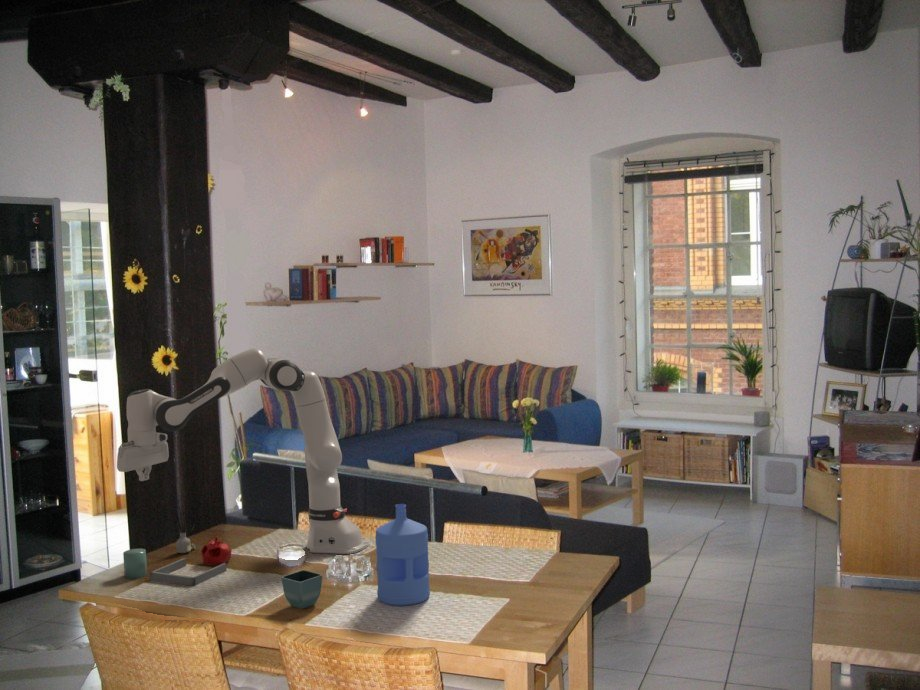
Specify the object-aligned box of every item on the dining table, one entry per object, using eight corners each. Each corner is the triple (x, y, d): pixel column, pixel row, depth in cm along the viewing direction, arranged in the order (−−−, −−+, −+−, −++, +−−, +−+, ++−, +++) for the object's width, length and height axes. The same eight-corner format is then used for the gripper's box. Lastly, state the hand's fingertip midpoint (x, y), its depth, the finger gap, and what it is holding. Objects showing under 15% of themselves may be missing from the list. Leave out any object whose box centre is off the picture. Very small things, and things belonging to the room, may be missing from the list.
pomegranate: (216, 557, 318) (215, 531, 318) (237, 561, 313) (236, 534, 313) (195, 565, 310) (194, 538, 309) (216, 569, 305) (215, 541, 304)
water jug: (371, 593, 276) (368, 502, 274) (420, 585, 282) (417, 496, 280) (385, 610, 262) (382, 514, 260) (437, 601, 267) (434, 508, 265)
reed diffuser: (182, 557, 319) (179, 501, 318) (165, 555, 321) (162, 500, 320) (199, 548, 329) (196, 494, 328) (183, 547, 331) (180, 493, 330)
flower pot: (304, 598, 274) (303, 569, 273) (324, 604, 268) (323, 574, 267) (281, 606, 267) (280, 576, 266) (301, 613, 261) (300, 582, 261)
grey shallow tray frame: (226, 570, 302) (226, 563, 302) (194, 586, 288) (193, 578, 288) (184, 565, 310) (183, 558, 310) (150, 579, 295) (149, 572, 295)
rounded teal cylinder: (151, 573, 302) (150, 549, 302) (136, 579, 296) (134, 555, 295) (135, 571, 305) (134, 547, 304) (119, 577, 299) (118, 553, 298)
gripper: (126, 444, 289) (128, 487, 290) (170, 434, 308) (172, 474, 309) (111, 443, 292) (113, 486, 293) (156, 433, 310) (158, 473, 311)
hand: (144, 480), depth 301 cm, fingers closed
